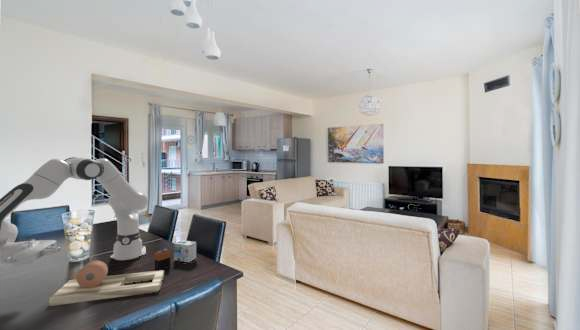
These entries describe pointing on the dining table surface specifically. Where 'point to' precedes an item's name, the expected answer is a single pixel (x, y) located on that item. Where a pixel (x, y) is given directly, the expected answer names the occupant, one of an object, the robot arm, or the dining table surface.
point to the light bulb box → (185, 251)
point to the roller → (92, 274)
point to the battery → (162, 259)
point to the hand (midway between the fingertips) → (59, 249)
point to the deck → (108, 288)
